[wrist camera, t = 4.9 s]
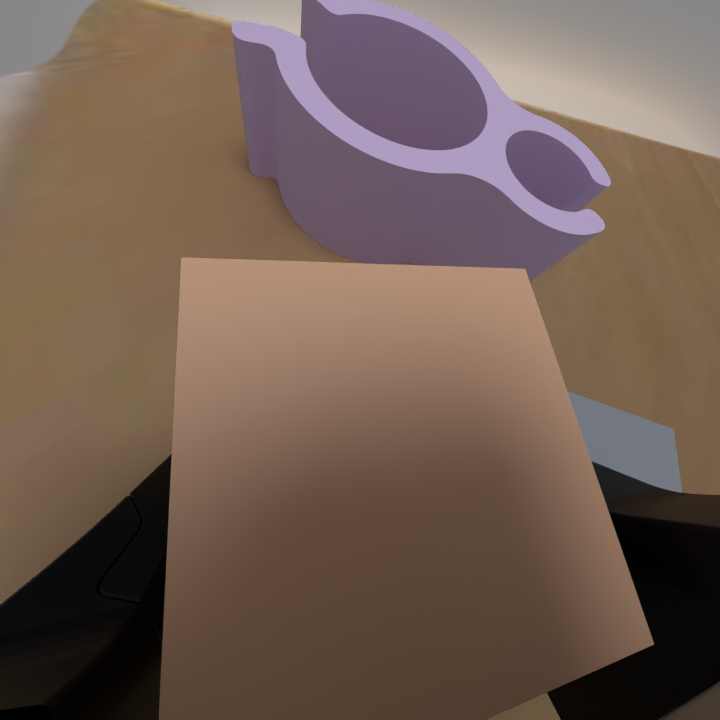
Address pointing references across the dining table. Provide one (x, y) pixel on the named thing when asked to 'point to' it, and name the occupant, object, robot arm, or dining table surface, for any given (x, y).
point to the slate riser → (628, 443)
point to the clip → (408, 144)
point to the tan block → (379, 500)
